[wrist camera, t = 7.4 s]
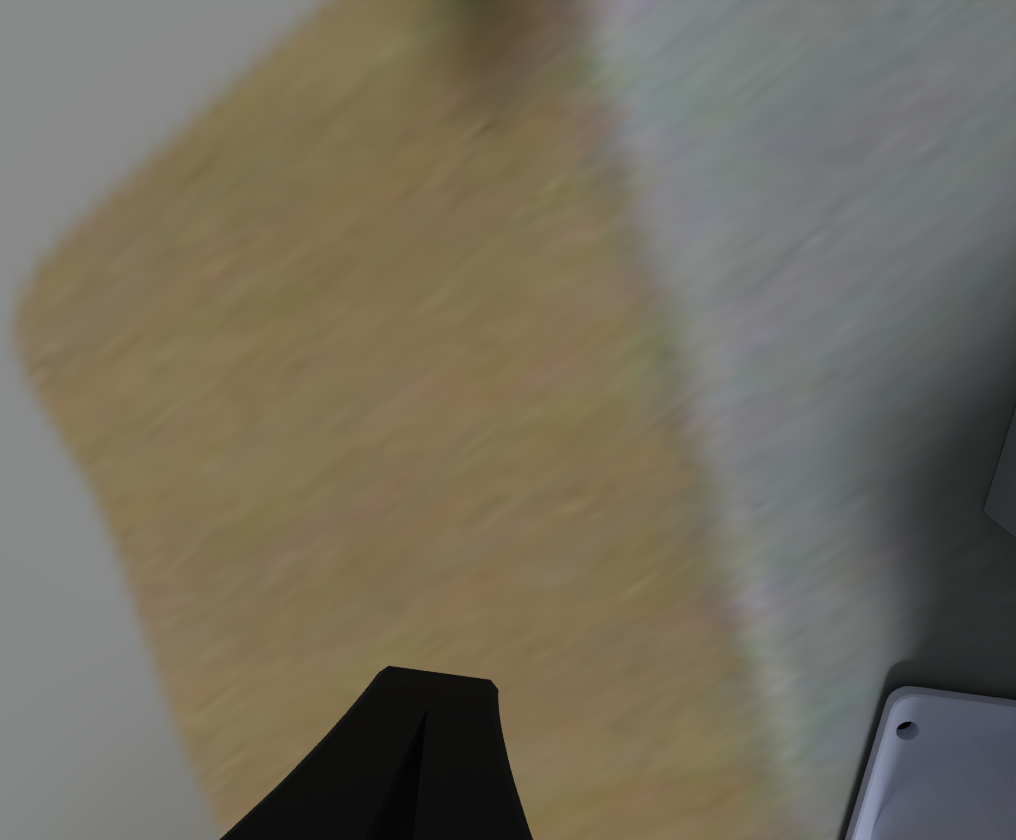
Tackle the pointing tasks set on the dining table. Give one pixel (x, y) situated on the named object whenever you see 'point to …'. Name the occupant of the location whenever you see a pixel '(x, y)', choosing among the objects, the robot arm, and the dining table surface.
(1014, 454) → the tunnel deck
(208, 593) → the dining table surface
